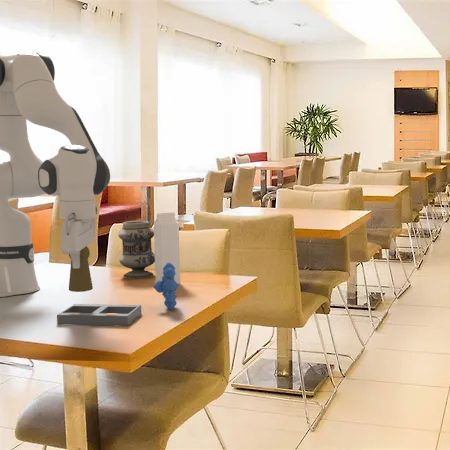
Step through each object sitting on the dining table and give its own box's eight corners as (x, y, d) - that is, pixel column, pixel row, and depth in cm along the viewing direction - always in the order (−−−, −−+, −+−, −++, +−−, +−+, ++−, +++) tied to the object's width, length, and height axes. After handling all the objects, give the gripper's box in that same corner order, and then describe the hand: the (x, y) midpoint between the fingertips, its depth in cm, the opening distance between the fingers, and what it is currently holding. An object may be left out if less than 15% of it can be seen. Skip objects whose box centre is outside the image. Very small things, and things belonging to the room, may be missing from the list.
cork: (87, 292, 186) (85, 248, 184) (64, 291, 187) (62, 247, 186) (96, 286, 192) (94, 244, 190) (74, 285, 193) (72, 243, 191)
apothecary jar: (137, 271, 256) (135, 219, 254) (164, 274, 249) (162, 220, 247) (112, 277, 247) (109, 222, 244) (139, 280, 240) (137, 224, 237)
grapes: (154, 304, 205) (152, 260, 203) (178, 303, 205) (177, 259, 204) (154, 313, 193) (152, 267, 192) (180, 312, 194) (179, 266, 193)
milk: (155, 283, 235) (152, 212, 233) (173, 280, 238) (170, 211, 236) (162, 286, 230) (159, 214, 227) (181, 283, 233) (178, 212, 230)
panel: (57, 324, 185) (56, 314, 184) (74, 313, 196) (74, 303, 196) (128, 325, 182) (127, 315, 181) (141, 314, 193) (141, 304, 193)
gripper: (79, 216, 176) (82, 274, 178) (98, 206, 197) (100, 258, 198) (53, 216, 177) (55, 274, 178) (75, 206, 197) (76, 258, 199)
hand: (79, 265), depth 189 cm, fingers closed on cork, 4 cm apart
